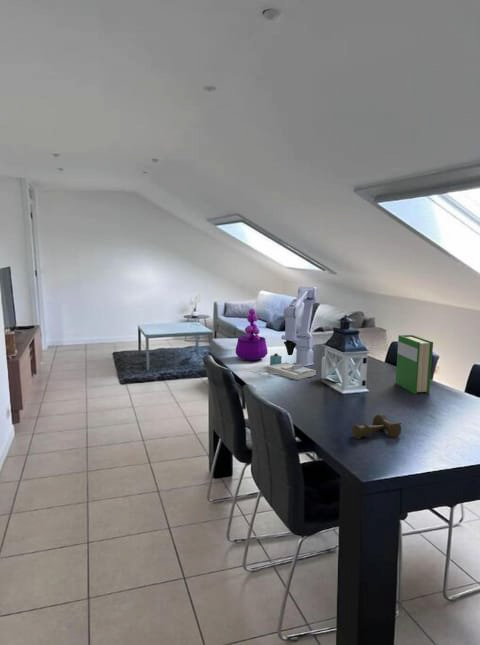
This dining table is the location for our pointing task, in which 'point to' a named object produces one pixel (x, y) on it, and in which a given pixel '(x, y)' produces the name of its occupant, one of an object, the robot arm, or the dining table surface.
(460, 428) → the dining table surface
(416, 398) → the dining table surface
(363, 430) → the kendama
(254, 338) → the decorative plant
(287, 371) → the socket plate
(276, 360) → the plug
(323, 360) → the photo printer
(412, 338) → the hardback book
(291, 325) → the robot arm
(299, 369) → the shutter
